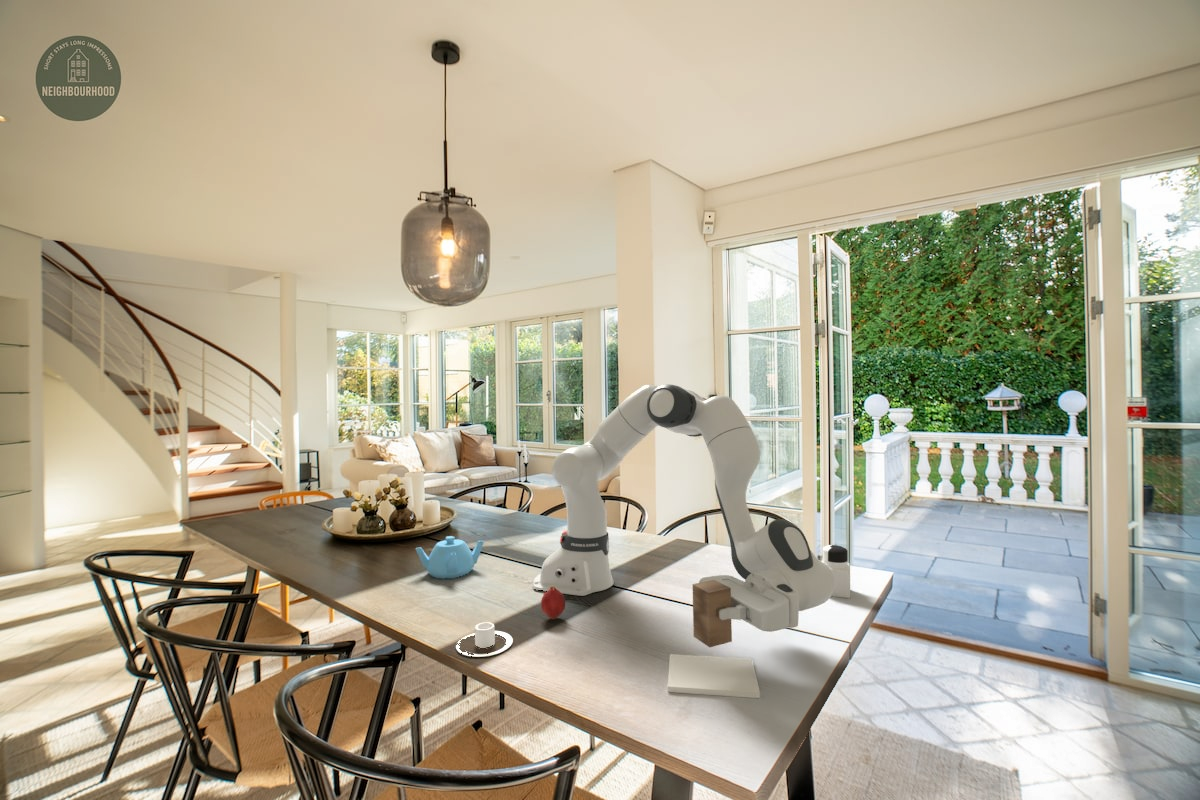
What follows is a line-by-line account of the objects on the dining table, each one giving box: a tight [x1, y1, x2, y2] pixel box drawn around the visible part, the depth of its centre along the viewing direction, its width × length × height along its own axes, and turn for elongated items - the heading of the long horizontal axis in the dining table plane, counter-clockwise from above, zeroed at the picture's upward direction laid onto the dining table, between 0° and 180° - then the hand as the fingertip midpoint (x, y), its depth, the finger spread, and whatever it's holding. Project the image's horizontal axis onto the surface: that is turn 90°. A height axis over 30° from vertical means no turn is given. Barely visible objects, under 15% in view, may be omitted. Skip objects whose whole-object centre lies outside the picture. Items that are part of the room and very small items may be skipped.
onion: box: [540, 586, 566, 620], centre depth 130 cm, size 6×6×8 cm
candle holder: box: [455, 621, 514, 658], centre depth 117 cm, size 12×12×4 cm
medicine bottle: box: [820, 544, 851, 599], centre depth 143 cm, size 7×7×12 cm
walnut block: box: [692, 580, 733, 648], centre depth 102 cm, size 5×5×10 cm
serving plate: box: [667, 653, 761, 699], centre depth 102 cm, size 16×12×1 cm
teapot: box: [415, 535, 485, 579], centre depth 165 cm, size 15×15×11 cm
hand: (707, 608), depth 102 cm, fingers closed on walnut block, 5 cm apart
